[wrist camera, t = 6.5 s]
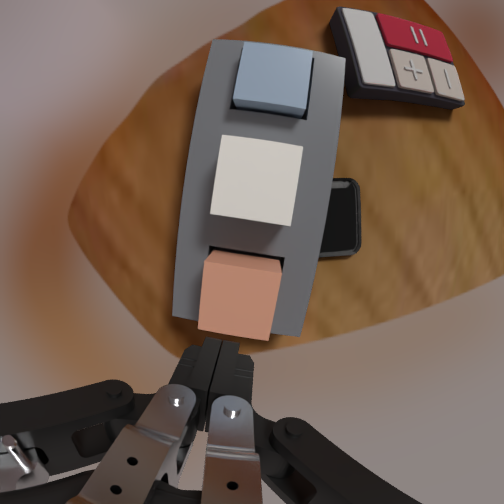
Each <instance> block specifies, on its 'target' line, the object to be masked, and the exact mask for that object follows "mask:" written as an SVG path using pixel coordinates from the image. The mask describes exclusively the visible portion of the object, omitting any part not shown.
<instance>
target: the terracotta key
mask: <svg viewBox="0 0 504 504" xmlns="http://www.w3.org/2000/svg"><path fill="white" fill-rule="evenodd" d="M281 276H282V271H281V266H280V261H279V260H275V259H269V258H263V257H256V256H250V255H244V254H237V253H231V252H225V251H219V250H213V251H212V253H211V254H210V255H209V256H208V257H207V258H206V260H205V261H204V268H203V278H202V288H201V298H200V309H199V321H198V329H200V330H205V331H211V332H216V333H222V334H227V335H233V336H239V337H246V338H252V339H259V340H266V341H269V336H270V331H271V326H272V322H273V317H274V312H275V307H276V302H277V297H278V292H279V287H280V281H281Z"/></svg>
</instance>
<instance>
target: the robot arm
mask: <svg viewBox="0 0 504 504" xmlns="http://www.w3.org/2000/svg"><path fill="white" fill-rule="evenodd" d="M239 344H240V343H238V342H232V341H227V340H223V344H222V340H221V339H216V338H211V337H206V338H205V340H204V343H203V345H202V347H201V346H196V345H191V346H190V347H188V348H187V349H185V350H184V353H183V355H182V357H181V359H180V361H179V363H178V365H177V367H176V369H175V371H174V373H173V375H172V378H171V379H170V382H169V384H168V385H165V386H163V387H161V388H160V389H159V390H158V391H157V392H156V393H154V394H136V393H133V389H132V388H131V387H130V386H129V385H128V384H127V383H125V382H123V381H120V380H106V381H102V382H99V383H95V384H91V385H88V386H84V387H80V388H76V389H71V390H67V391H63V392H59V393H55V394H50V395H45V396H40V397H35V398H30V399H25V400H19V401H14V402H8V403H1V404H0V504H263V500H262V486H261V479H262V480H263V481H264V482H265V483H266V484H267V485H268V486H269V487H270V488H271V489H272V490H273V491H274V492H275V493H276V494H277V495H278V496H279V497H280V498H281V499H282V500H283V501H284V502H285V503H286V504H422V503H420V502H418V501H416V500H415V499H413V498H411V497H410V496H408V495H406V494H405V493H403V492H402V491H400V490H398V489H397V488H395V487H394V486H392V485H391V484H389V483H388V482H386V481H384V480H383V479H381V478H380V477H378V476H377V475H375V474H374V473H373V472H371V471H370V470H368V469H367V468H365V467H364V466H363V465H361V464H360V463H358V462H357V461H356V460H354V459H353V458H352V457H350V456H349V455H348V454H346V453H345V452H344V451H342V450H341V449H340V448H338V447H337V446H336V445H334V444H333V443H332V442H331V441H329V440H328V439H327V438H326V437H324V436H323V435H322V434H321V433H319V432H318V431H317V430H316V429H314V428H313V427H312V426H311V425H310V424H308V423H307V422H306V421H304V420H301V419H299V418H294V417H286V418H283V419H280V420H278V421H277V422H273V421H271V420H268V419H265V418H263V417H261V416H260V415H258V414H257V413H256V412H255V411H254V409H253V407H252V405H251V400H252V385H253V371H254V362H253V361H252V359H251V357H250V356H249V355H243V354H238V350H239ZM205 422H206V426H205ZM97 424H98V425H97ZM94 425H95V426H94ZM91 426H92V427H91ZM204 426H205V432H208V440H207V448H206V457H205V465H204V474H203V485H202V491H196V490H180V489H178V483H179V479H180V476H181V474H182V471H183V469H184V466H185V464H186V461H187V459H188V456H189V454H190V451H191V448H192V446H193V441H194V439H195V436H196V432H197V430H199V431H203V430H204ZM84 428H85V429H84ZM77 430H78V431H77ZM100 461H101V462H100ZM97 462H100V463H99V465H98V466H97V468H96V469H95V470H89V471H84V472H81V473H78V474H76V475H72V476H69V477H66V478H63V479H59V480H55V481H52V482H48V479H49V476H52V475H56V474H60V473H64V472H68V471H71V470H75V469H78V468H81V467H85V466H88V465H91V464H94V463H97ZM47 482H48V483H47Z"/></svg>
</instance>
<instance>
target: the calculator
mask: <svg viewBox="0 0 504 504" xmlns="http://www.w3.org/2000/svg"><path fill="white" fill-rule="evenodd" d="M329 23H330V27H331V30H332V33H333V37H334V40H335V44H336V48H337V51H338V55H339V57H342V58H346V60H345V75H344V81H345V85H346V90H347V95H348V96H349V97H350V98H357V99H375V100H394V101H402V102H409V103H416V104H422V105H428V106H434V107H440V108H445V109H450V110H452V109H456V108H459V107H462V106H464V105H465V103H464V95H463V91H462V88H461V84H460V81H459V77H458V74H457V71H456V68H455V66H454V64H453V59H452V56H451V53H450V51H449V48H448V45H447V43H446V40H445V38H444V36H443V33H442V32H440V31H438V30H435V29H432V28H430V27H427V26H424V25H421V24H418V23H414V22H411V21H408V20H404V19H400V18H397V17H393V16H389V15H385V14H380V13H375V12H370V11H364V10H359V9H353V8H346V7H337V8H336V10H335V12H334V14H333V16H332V18H331V20H330V22H329Z"/></svg>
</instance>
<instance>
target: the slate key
mask: <svg viewBox="0 0 504 504" xmlns="http://www.w3.org/2000/svg"><path fill="white" fill-rule="evenodd" d="M312 54H313V51H308V50H303V49H297V48H291V47H285V46H278V45H271V44H262V43H252V42H244V46H243V50H242V55H241V60H240V65H239V70H238V74H237V79H236V85H235V90H234V95H233V101H234V103H235V106H236V109H237V110H243V111H252V112H259V113H266V114H273V115H280V116H286V117H291V118H297V119H301V118H302V116H303V114H304V112H305V110H306V104H307V96H308V88H309V80H310V72H311V63H312Z"/></svg>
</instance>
